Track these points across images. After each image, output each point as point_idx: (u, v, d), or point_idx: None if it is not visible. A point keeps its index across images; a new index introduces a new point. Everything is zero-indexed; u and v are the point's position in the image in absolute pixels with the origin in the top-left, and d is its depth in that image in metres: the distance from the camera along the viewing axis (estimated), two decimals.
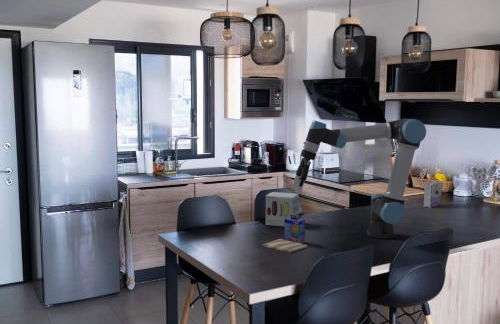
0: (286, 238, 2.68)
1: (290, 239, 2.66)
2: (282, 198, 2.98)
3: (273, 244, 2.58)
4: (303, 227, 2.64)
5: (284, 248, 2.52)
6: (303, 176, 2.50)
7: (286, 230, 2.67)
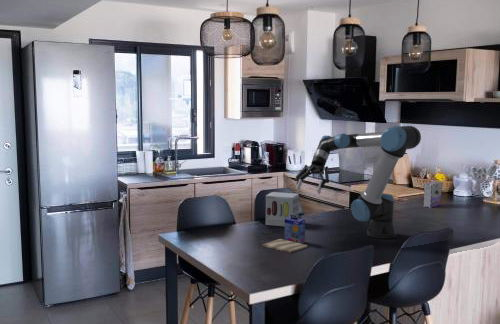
0: (286, 238, 2.68)
1: (290, 239, 2.66)
2: (282, 198, 2.98)
3: (273, 244, 2.58)
4: (303, 227, 2.64)
5: (284, 248, 2.52)
6: None
7: (286, 230, 2.67)
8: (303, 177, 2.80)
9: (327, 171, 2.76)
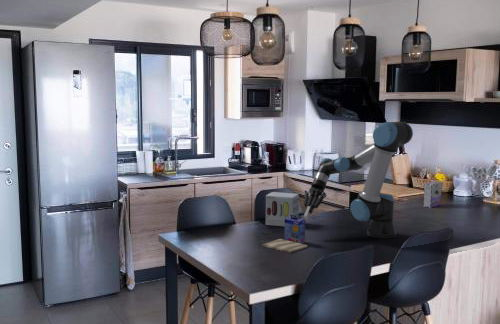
0: (286, 238, 2.68)
1: (290, 239, 2.66)
2: (282, 198, 2.98)
3: (273, 244, 2.58)
4: (303, 227, 2.64)
5: (284, 248, 2.52)
6: None
7: (286, 230, 2.67)
8: (310, 203, 2.79)
9: (322, 197, 2.78)
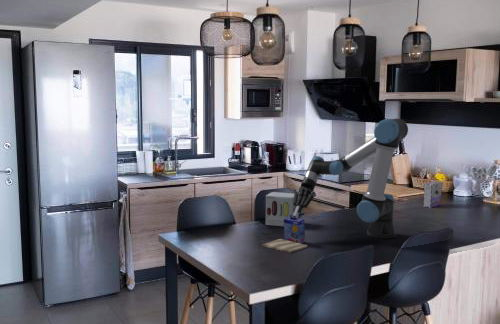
0: (286, 238, 2.68)
1: (290, 239, 2.66)
2: (282, 198, 2.98)
3: (273, 244, 2.58)
4: (303, 227, 2.64)
5: (284, 248, 2.52)
6: None
7: (286, 230, 2.67)
8: (299, 202, 2.74)
9: (312, 196, 2.73)
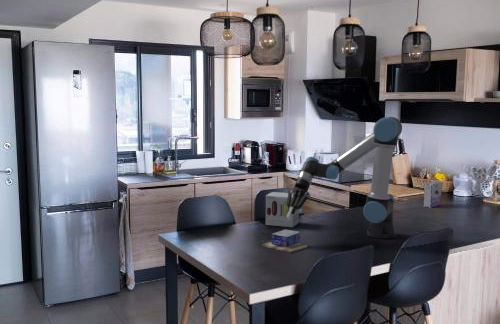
0: None
1: None
2: (282, 198, 2.98)
3: (273, 244, 2.58)
4: (291, 238, 2.56)
5: (284, 248, 2.52)
6: None
7: None
8: (293, 203, 2.68)
9: (305, 197, 2.67)
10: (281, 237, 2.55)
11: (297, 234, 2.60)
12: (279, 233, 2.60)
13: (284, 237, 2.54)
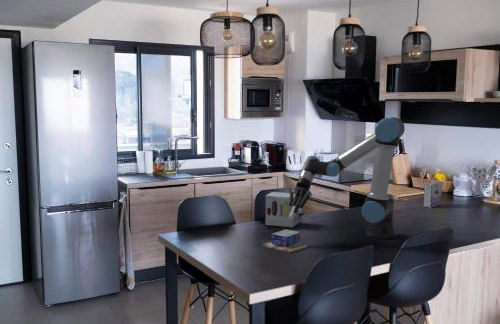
0: None
1: None
2: (282, 198, 2.98)
3: (273, 244, 2.58)
4: (291, 238, 2.56)
5: (284, 248, 2.52)
6: None
7: None
8: (295, 202, 2.69)
9: (307, 196, 2.68)
10: (281, 237, 2.55)
11: (297, 234, 2.60)
12: (279, 233, 2.60)
13: (284, 237, 2.54)
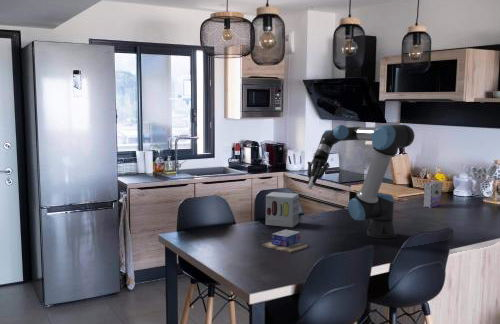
0: None
1: None
2: (282, 198, 2.98)
3: (273, 244, 2.58)
4: (291, 238, 2.56)
5: (284, 248, 2.52)
6: (308, 175, 2.83)
7: None
8: (313, 173, 2.81)
9: (325, 167, 2.80)
10: (281, 237, 2.55)
11: (297, 234, 2.60)
12: (279, 233, 2.60)
13: (284, 237, 2.54)
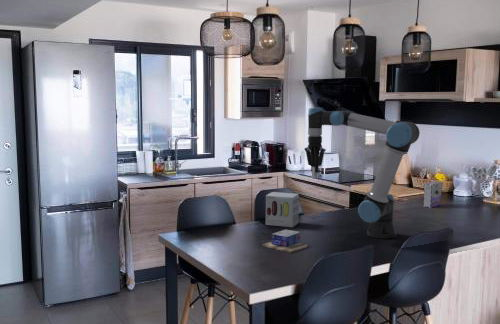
0: None
1: None
2: (282, 198, 2.98)
3: (273, 244, 2.58)
4: (291, 238, 2.56)
5: (284, 248, 2.52)
6: None
7: None
8: (313, 161, 2.84)
9: (322, 154, 2.79)
10: (281, 237, 2.55)
11: (297, 234, 2.60)
12: (279, 233, 2.60)
13: (284, 237, 2.54)
